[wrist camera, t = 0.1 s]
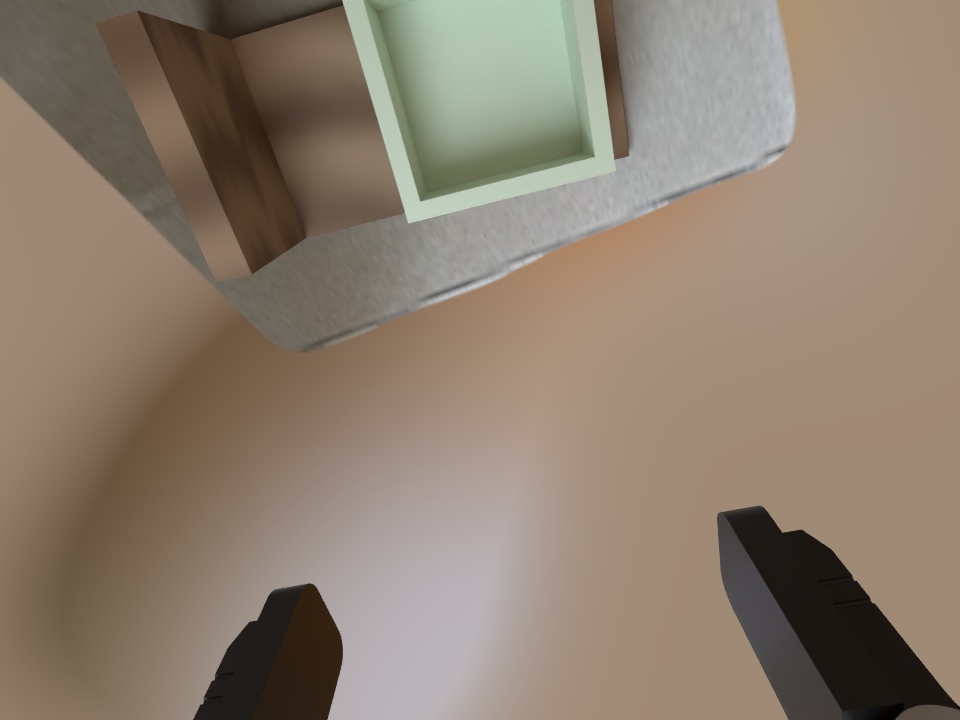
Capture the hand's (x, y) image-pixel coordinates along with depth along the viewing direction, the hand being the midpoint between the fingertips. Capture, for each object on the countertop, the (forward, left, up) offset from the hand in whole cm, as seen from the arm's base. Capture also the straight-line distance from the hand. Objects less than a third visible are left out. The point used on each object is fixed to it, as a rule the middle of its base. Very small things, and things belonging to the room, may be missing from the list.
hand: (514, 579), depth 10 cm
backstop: (-10, -2, -29) cm, 31 cm away
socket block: (-10, +2, -28) cm, 30 cm away
